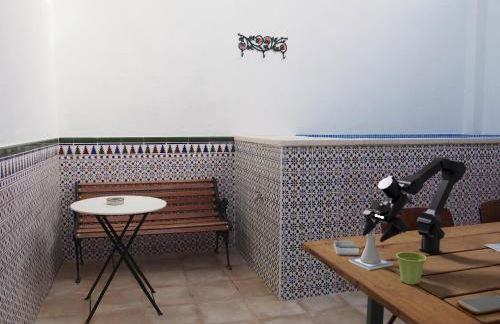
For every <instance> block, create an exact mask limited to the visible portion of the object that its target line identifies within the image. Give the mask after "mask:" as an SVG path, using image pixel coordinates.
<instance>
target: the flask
mask: <svg viewBox="0 0 500 324" xmlns="http://www.w3.org/2000/svg"><path fill="white" fill-rule="evenodd" d="M365 237H366V243H365V247H364V249H363V251H362V254H361V256H360V257H361V258H360V260H361V261H362V262H365V263H369V264H374V263H379V262H381V259H382V258H381V257H380V254H379V251H378V248H377V246H376V244H377V243H376V234H374V233H368V234H367V235H366V236H365ZM380 258H381V259H380Z"/></svg>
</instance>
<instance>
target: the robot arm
mask: <svg viewBox="0 0 500 324" xmlns="http://www.w3.org/2000/svg"><path fill="white" fill-rule="evenodd" d="M466 171H467V166H466V164H465V162H463V161H458V160H452V159H451V160H450V159H448V158H446V157H440V156H439V157H438V156H436V157H434V158H433V159H432V160H431V161H430V162H428V163H427V164H426V165H424V167H422V168H420V169H419V170H418V171H417V172H415V173H413V174H410V175H407V176H405V177H402V178H401V179H400V180H399V181H397V179H396V178H395V176H393V175H388V176H387V177H385V178H383V179H381V180H380V181H379V182H378V184H377V185H378V189H380V191H381V192H382V193H383V195H385V197H386V198H387V199H389V200H388V201H383V202H382V201H379V200H375V199H374V200H372V202H371V205H370V206H369V208H370V209H365V210H364V211H363V212H362V215H363V218H364V219H365V225H364V229H363V232H362V236H363V237H367V236H366V235H367V234H371V232H372V231H373V230H374V229H375V228H376V227H377V226H378V224H379V223H385V224H387V225H386V229H385V231H384V232H383V234H382V235H381V237H380V238H379V242H380V243H383V242H385V241H387V240H388V239H389V240H390V239H392V238H393V237H395V236H398V235H401V234H402V233H403V234H405V233H406V232H407V231H408V224H406V223H405V221H404V220H403V219H402V217H401V216H402V210H403V209H404V208H405V207H406V205H407V204H408V205H412V204H413V201H412V197H411V196H408V195H412V196H415V195H417V194H418V193H420V192H421V190H422V189H423V188H424V184H425V183H426V182H428V181H429V180H430V179H431V178H433V177H434V176H435V175H437V174H438V173H439V172H441V181H440V183H439V185H438V187H437V190H436V191H435V194H434V196H433V198H432V199H431V202H430V204H429V206H428V209H427V210H426V211H421V212H420V213H419V215H418V218H417V219H416V224H415V226H416V228H417V233H418V235H419V236H421V240H420V241H421V242H420V244H421V245H420V248H419V249H418V251H420V252H422V253H426V254H429V255H436V254H441V253H443V250H441V249H440V248H441V246H440V245H441V240H442V239H444V238H445V234H446V233H445V232H444V230H443V229H442V228H441V225H442V219H441V214H442V212H443V210H444V208H445V206H446V203H447V202H448V199H449V197H450V195H451V192H452V190H453V188H454V186H455V184H456V183H457V182H459V181H460V180H461V179H462V178H463V177H464V176H465V173H466ZM374 210H375V211H376V212H375V211H374ZM398 216H399V217H398Z"/></svg>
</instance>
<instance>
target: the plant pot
mask: <svg viewBox="0 0 500 324" xmlns="http://www.w3.org/2000/svg"><path fill="white" fill-rule="evenodd" d="M396 257H397V261H398V267H399V277H400V278H399V279H400V282H403V283H404V284H407V285H418V284H420V283H421V280H422V275H423V268H424V264H425V262H426V261H427V256H426V255H424V254H422V253H419V252H415V251H414V252H413V251H400V252H398V253H396Z"/></svg>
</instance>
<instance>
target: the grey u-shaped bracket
mask: <svg viewBox="0 0 500 324" xmlns="http://www.w3.org/2000/svg"><path fill="white" fill-rule="evenodd" d="M355 242H356V241H355V240H333V249H334V251H335V253H336V255H340V256H359V255H360V251H359V250H360V249H359V247H356V243H355Z"/></svg>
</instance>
